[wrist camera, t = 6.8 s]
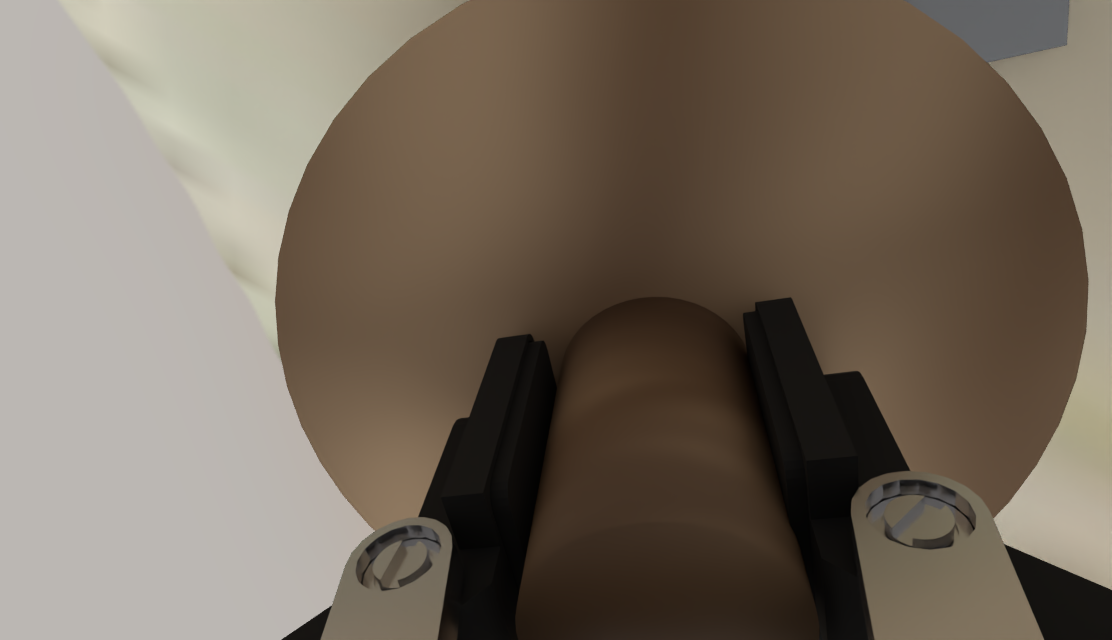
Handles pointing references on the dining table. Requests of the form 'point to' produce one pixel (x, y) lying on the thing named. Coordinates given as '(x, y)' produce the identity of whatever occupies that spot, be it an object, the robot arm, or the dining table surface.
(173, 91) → the dining table surface
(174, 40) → the dining table surface
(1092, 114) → the dining table surface
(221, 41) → the dining table surface
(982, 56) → the mat
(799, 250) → the lid
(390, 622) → the robot arm
